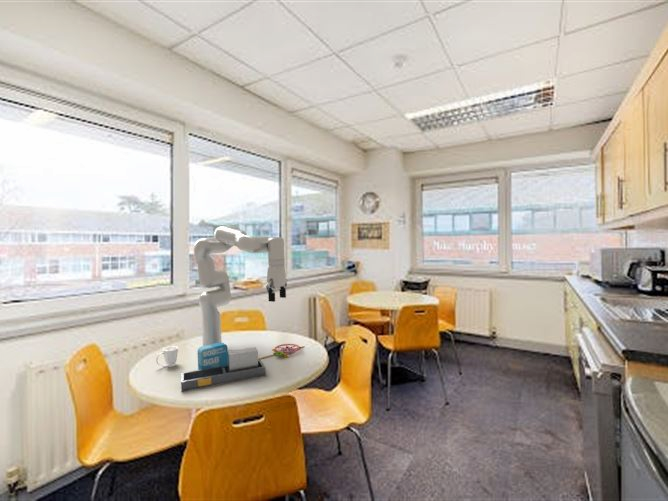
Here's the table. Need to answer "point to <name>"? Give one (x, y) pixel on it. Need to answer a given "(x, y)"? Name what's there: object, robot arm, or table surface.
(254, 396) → the table surface
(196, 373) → the rack
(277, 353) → the mechanical gear assembly
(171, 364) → the cup
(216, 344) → the data package
